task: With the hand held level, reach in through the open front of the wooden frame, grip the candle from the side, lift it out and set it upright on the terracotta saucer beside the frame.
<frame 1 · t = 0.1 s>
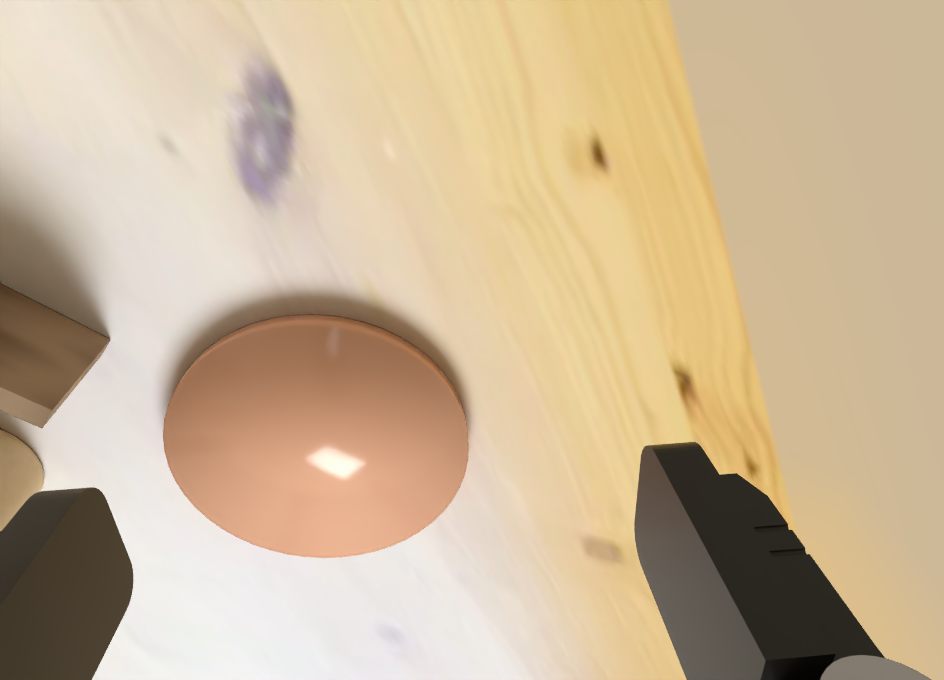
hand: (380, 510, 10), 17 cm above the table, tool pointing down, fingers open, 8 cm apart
saucer: (323, 441, 31), on the table
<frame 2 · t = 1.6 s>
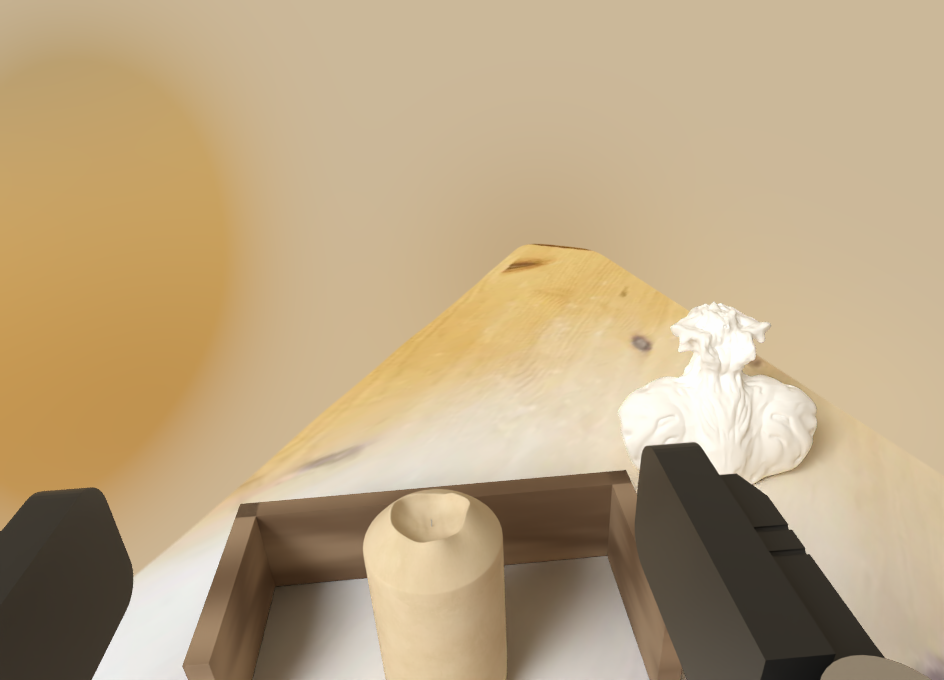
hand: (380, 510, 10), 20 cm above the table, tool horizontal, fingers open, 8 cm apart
bust: (705, 460, 42), on the table
wooden frame: (447, 673, 29), on the table
candle: (447, 677, 29), on the table
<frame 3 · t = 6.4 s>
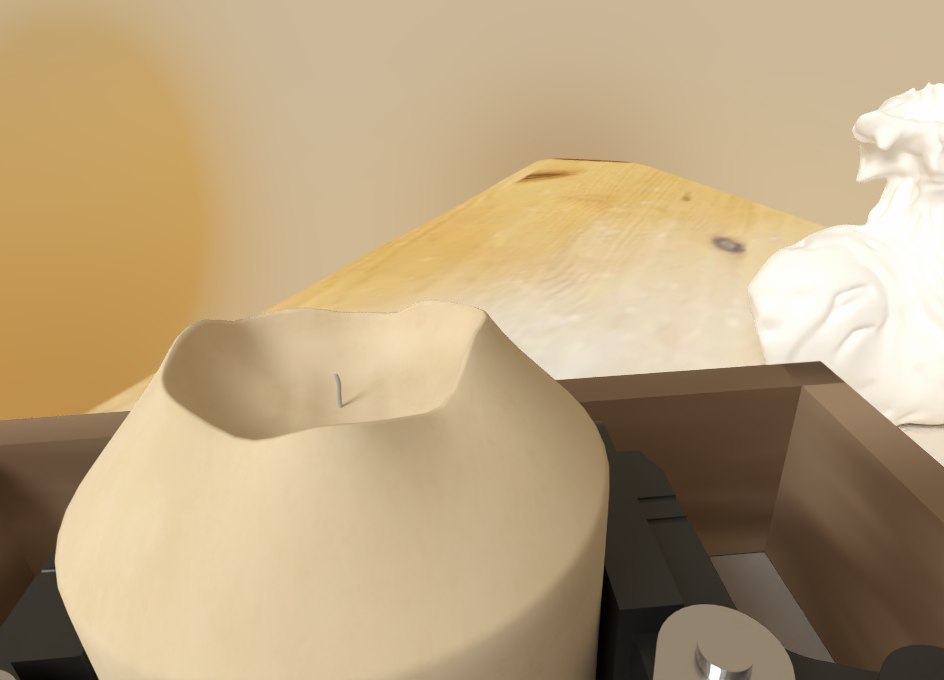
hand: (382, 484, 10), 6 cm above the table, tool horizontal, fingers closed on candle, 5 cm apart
bust: (891, 388, 23), on the table
when the fingers open (8 cm above the table, at t = 12.2 s): candle drops 1 cm, resting on saucer.
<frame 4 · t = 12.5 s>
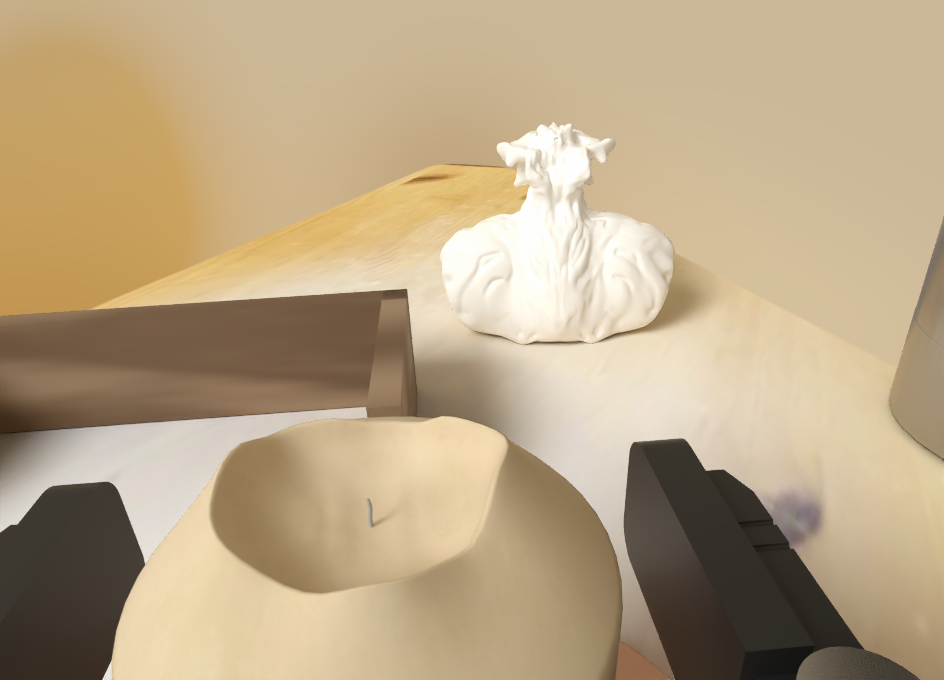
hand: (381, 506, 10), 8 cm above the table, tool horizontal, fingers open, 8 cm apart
bust: (553, 324, 35), on the table
wooden frame: (130, 515, 22), on the table
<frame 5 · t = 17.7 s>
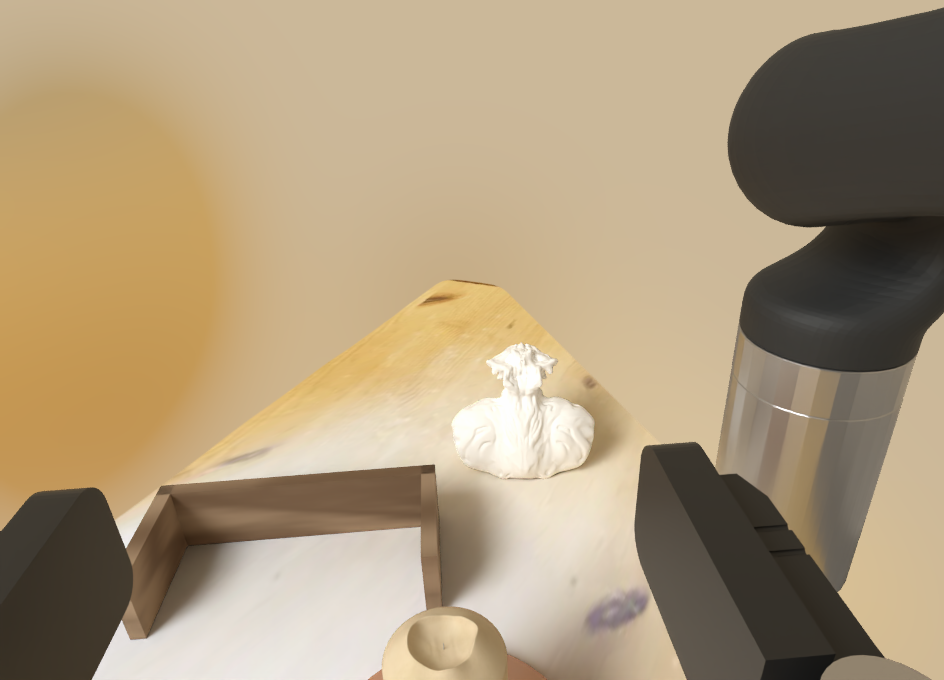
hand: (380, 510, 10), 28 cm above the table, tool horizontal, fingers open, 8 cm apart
bust: (522, 460, 56), on the table
wooden frame: (293, 600, 43), on the table
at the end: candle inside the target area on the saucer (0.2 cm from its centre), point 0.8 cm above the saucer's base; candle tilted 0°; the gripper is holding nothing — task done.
